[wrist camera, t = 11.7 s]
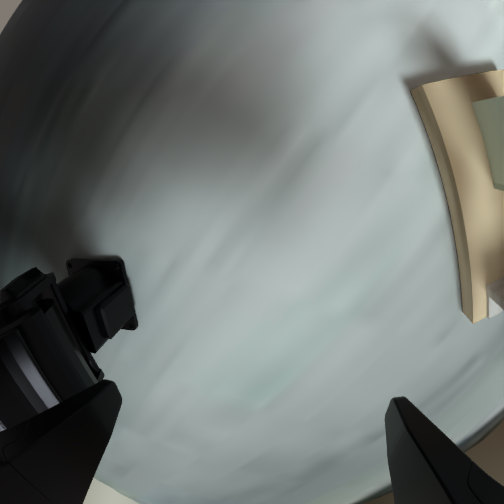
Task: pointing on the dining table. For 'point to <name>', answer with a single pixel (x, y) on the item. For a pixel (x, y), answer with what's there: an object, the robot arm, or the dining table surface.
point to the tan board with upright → (468, 185)
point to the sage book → (493, 135)
